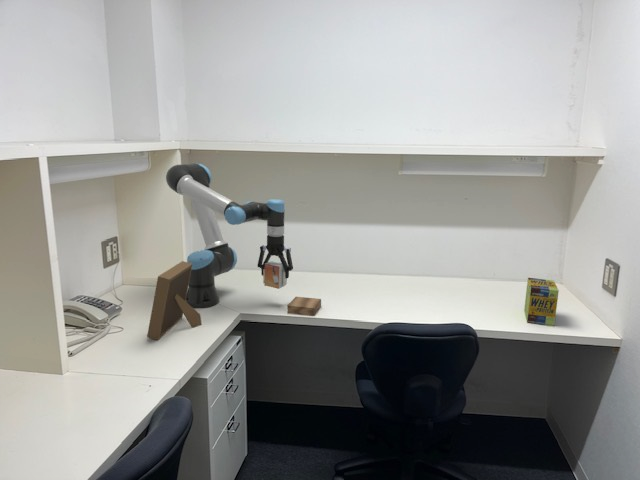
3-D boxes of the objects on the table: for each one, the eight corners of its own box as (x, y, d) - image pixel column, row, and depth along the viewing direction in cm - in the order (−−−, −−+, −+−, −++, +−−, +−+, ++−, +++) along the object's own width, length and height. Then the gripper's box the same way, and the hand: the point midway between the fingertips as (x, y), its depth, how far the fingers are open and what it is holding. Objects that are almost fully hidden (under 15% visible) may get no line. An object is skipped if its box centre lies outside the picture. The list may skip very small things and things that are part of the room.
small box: (264, 285, 204) (264, 263, 201) (270, 282, 209) (271, 260, 206) (279, 289, 200) (279, 266, 198) (285, 285, 205) (286, 263, 203)
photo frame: (147, 339, 169) (143, 275, 164) (172, 317, 190) (169, 260, 185) (185, 342, 168) (182, 277, 162) (206, 320, 189) (204, 262, 183)
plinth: (287, 314, 197) (287, 305, 196) (295, 304, 208) (295, 296, 207) (314, 316, 194) (314, 308, 193) (321, 307, 205) (321, 298, 204)
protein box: (526, 323, 188) (530, 287, 185) (523, 310, 202) (527, 277, 199) (554, 326, 185) (559, 290, 181) (549, 313, 199) (554, 279, 195)
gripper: (249, 234, 198) (249, 283, 203) (296, 238, 193) (295, 289, 198) (256, 231, 205) (255, 278, 210) (301, 235, 200) (300, 283, 205)
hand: (274, 283), depth 204 cm, fingers closed on small box, 9 cm apart
